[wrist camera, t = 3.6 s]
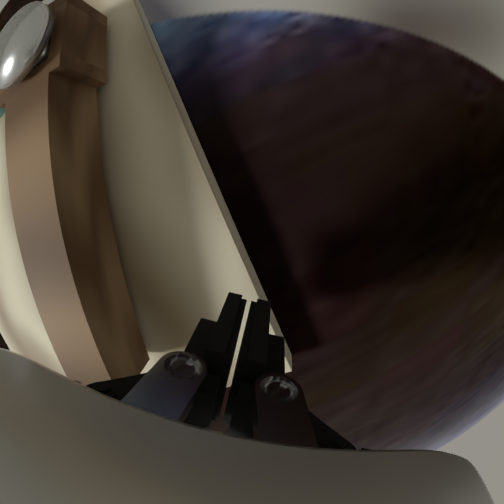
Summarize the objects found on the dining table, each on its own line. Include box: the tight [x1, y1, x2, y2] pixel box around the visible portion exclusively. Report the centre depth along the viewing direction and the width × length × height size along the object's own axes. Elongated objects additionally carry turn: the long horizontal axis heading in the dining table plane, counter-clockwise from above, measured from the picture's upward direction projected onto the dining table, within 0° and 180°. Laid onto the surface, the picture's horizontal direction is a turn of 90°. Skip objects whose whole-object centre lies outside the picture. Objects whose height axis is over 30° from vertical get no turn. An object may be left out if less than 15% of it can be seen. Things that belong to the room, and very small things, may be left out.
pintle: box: [0, 1, 55, 89], centre depth 8 cm, size 4×4×5 cm
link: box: [0, 0, 150, 386], centre depth 10 cm, size 18×4×4 cm, turn 8°
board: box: [0, 0, 292, 387], centre depth 14 cm, size 22×24×2 cm
